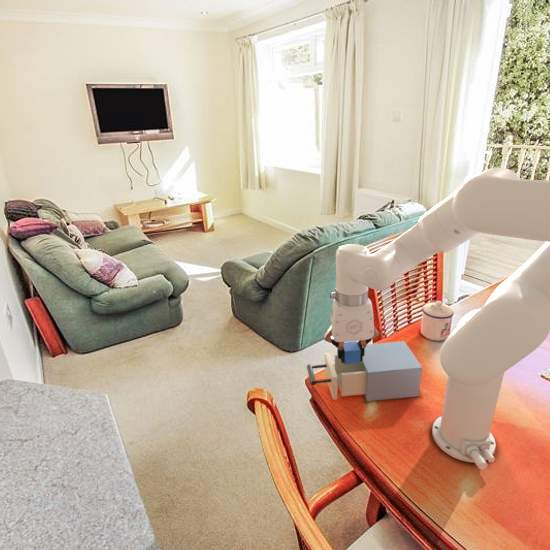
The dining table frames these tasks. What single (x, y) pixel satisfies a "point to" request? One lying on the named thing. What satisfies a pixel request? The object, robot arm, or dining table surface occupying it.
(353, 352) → the blue wooden cube
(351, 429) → the dining table surface
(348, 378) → the drawer
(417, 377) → the grey drawer cabinet
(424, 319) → the teacup with lid
